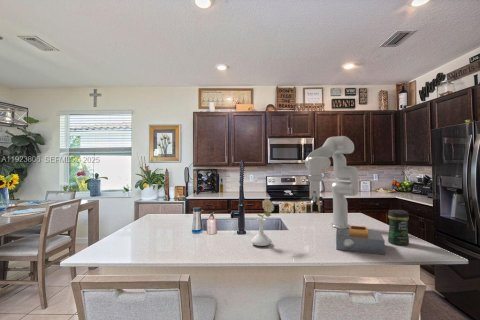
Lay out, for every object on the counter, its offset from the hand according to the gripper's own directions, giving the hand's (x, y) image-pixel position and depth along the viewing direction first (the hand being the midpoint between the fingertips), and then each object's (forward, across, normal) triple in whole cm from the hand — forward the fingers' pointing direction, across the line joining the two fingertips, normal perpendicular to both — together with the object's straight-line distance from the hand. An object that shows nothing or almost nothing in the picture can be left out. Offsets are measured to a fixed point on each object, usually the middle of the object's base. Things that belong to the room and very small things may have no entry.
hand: (315, 210), depth 144 cm
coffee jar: (+19, -14, +43) cm, 49 cm away
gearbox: (+18, 0, +22) cm, 28 cm away
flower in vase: (+18, +14, -27) cm, 36 cm away
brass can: (+1, 0, 0) cm, 1 cm away
